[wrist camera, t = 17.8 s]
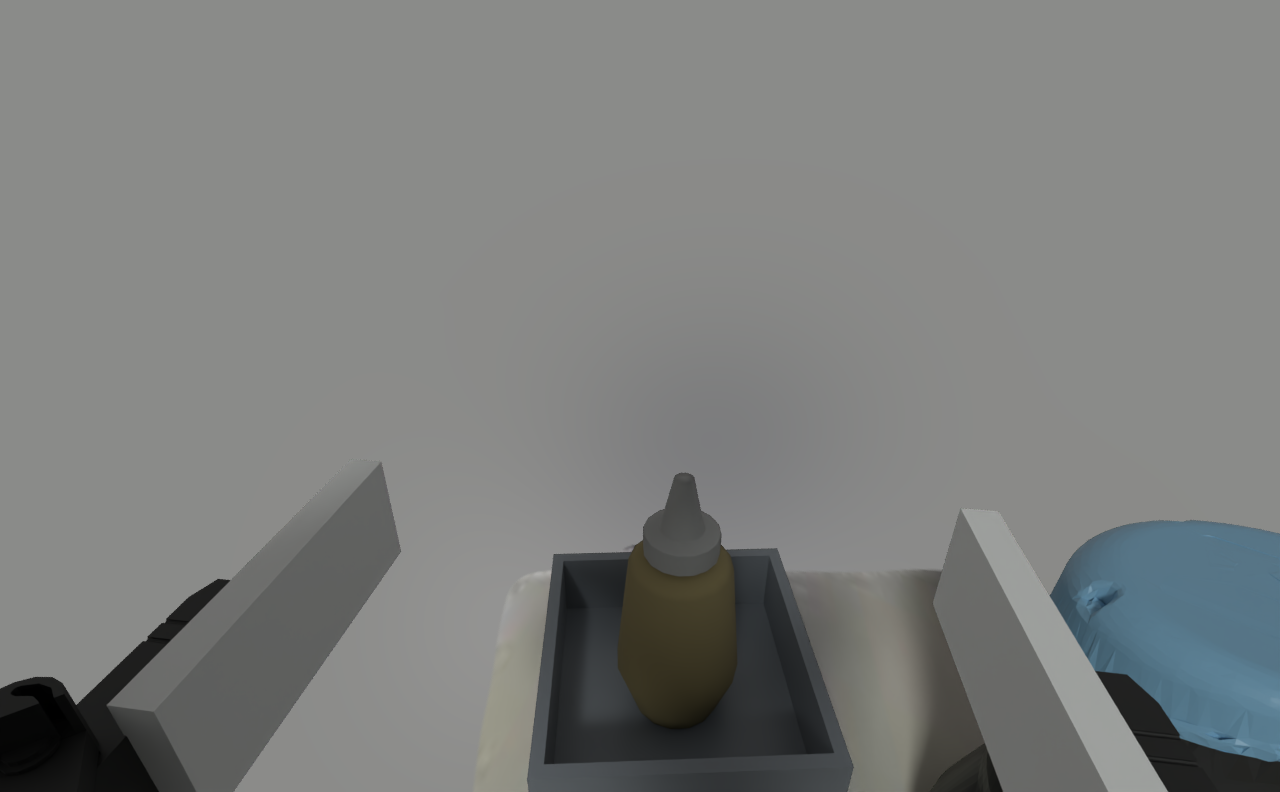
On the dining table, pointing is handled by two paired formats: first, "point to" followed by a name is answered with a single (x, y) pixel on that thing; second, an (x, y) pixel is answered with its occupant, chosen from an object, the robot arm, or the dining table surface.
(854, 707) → the dining table surface
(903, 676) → the dining table surface
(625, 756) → the box
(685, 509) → the squeeze bottle
